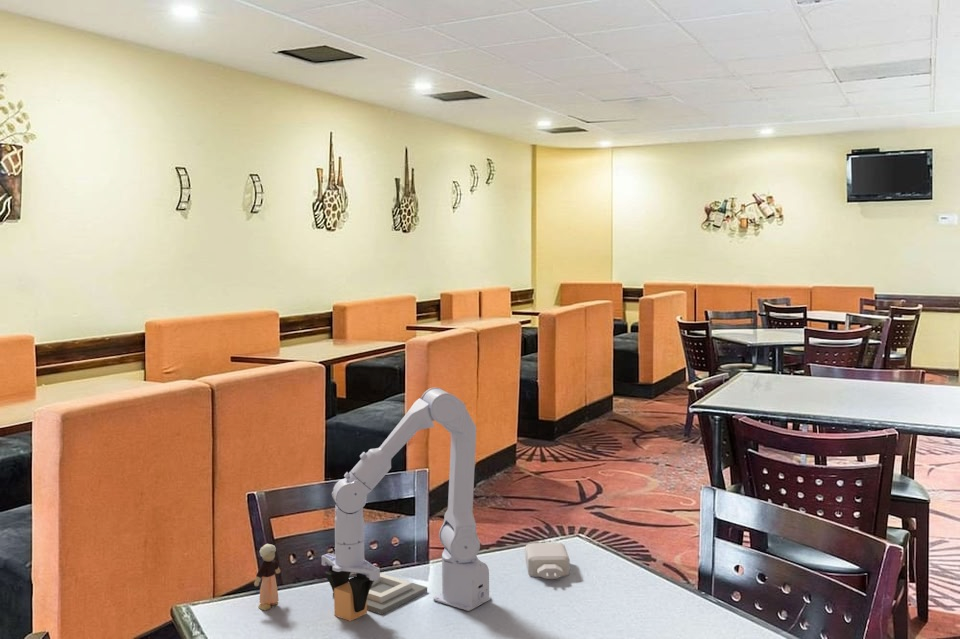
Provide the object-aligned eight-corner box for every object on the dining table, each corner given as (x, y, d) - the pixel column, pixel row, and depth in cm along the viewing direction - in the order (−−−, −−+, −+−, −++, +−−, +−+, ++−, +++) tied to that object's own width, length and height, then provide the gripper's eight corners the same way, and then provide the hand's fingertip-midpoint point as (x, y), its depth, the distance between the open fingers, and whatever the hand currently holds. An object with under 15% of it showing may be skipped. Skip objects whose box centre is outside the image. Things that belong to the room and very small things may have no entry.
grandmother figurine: (269, 613, 160) (268, 550, 159) (251, 611, 161) (250, 549, 160) (286, 597, 168) (285, 538, 167) (269, 596, 168) (268, 537, 168)
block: (366, 613, 160) (366, 586, 159) (350, 621, 156) (350, 593, 156) (351, 607, 162) (350, 581, 162) (334, 615, 159) (334, 588, 158)
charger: (530, 588, 172) (525, 563, 187) (573, 587, 173) (564, 562, 188) (530, 566, 172) (525, 543, 187) (573, 565, 172) (564, 542, 187)
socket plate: (427, 591, 170) (427, 581, 170) (381, 614, 159) (381, 603, 159) (379, 577, 179) (379, 567, 178) (332, 597, 167) (332, 587, 167)
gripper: (309, 538, 159) (310, 605, 160) (361, 553, 151) (362, 623, 152) (335, 529, 165) (336, 593, 166) (387, 543, 156) (387, 610, 157)
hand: (350, 607), depth 159 cm, fingers closed on block, 4 cm apart
